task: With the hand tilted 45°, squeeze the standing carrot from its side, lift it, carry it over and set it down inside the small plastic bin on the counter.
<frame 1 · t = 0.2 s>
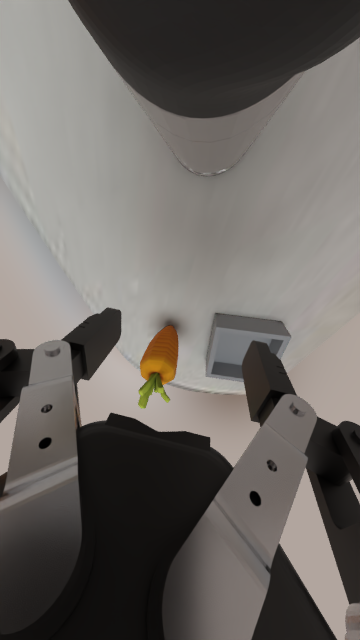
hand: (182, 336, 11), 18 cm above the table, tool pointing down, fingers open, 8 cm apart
bin: (240, 342, 33), on the table
carrot: (171, 326, 33), on the table
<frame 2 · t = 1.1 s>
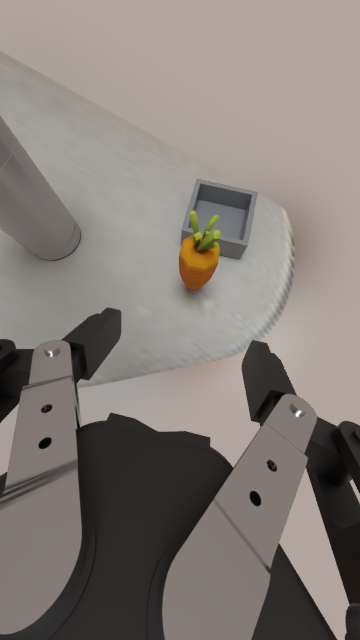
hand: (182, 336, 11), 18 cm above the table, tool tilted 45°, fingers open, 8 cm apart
bin: (215, 227, 35), on the table
carrot: (192, 287, 32), on the table
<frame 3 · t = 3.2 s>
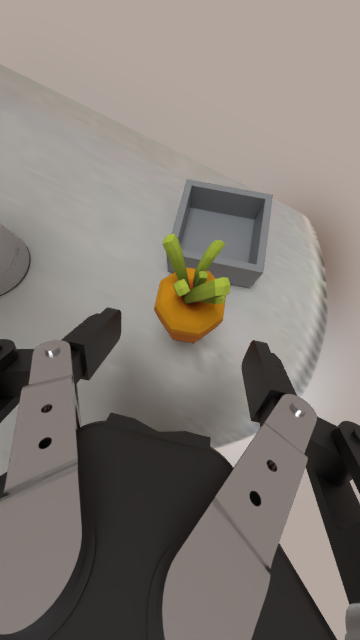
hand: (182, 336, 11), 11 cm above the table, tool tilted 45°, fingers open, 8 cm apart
bin: (215, 244, 25), on the table
carrot: (185, 331, 23), on the table
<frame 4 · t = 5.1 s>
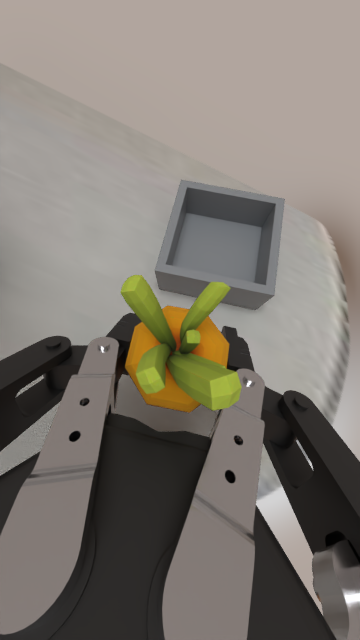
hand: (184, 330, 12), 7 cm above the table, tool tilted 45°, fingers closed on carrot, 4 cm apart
bin: (215, 256, 22), on the table
carrot: (178, 362, 19), on the table, touching gripper
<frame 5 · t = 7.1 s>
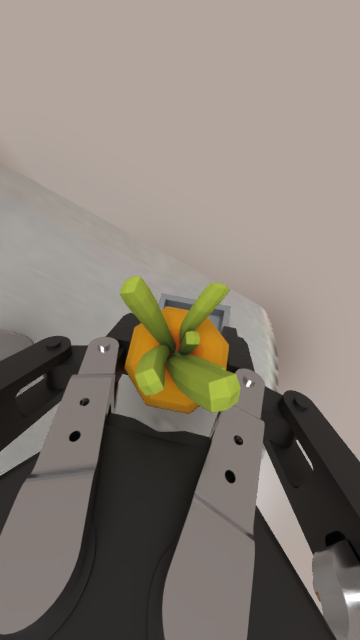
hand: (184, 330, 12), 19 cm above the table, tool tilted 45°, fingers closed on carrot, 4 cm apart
bin: (188, 338, 31), on the table
carrot: (178, 363, 19), point 11 cm above the table, touching gripper
when the fingers open (9 cm above the table, at t = 9.6 s): carrot drops 2 cm, resting on bin.
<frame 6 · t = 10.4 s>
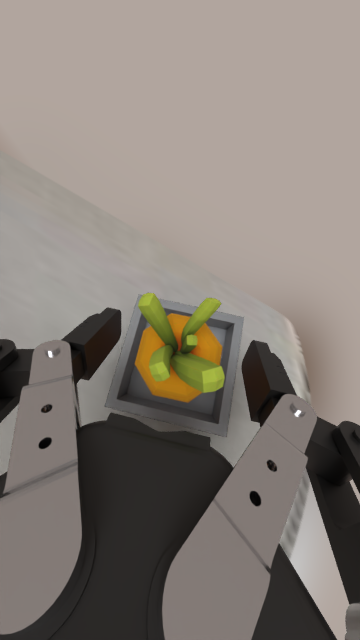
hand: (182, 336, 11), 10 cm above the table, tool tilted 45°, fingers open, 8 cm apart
bin: (178, 360, 21), on the table
carrot: (178, 362, 20), point 1 cm above the table, touching bin
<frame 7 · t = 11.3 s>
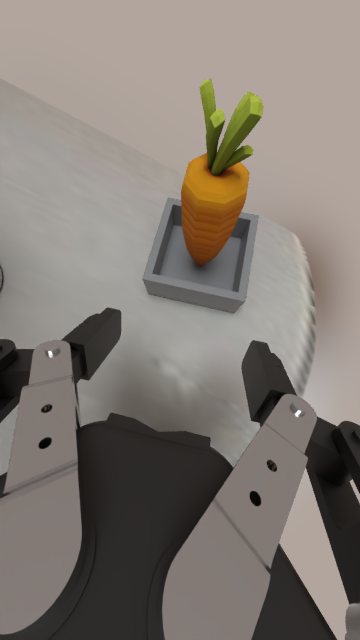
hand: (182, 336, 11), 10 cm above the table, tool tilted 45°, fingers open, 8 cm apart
bin: (199, 265, 24), on the table
carrot: (199, 264, 23), point 1 cm above the table, touching bin
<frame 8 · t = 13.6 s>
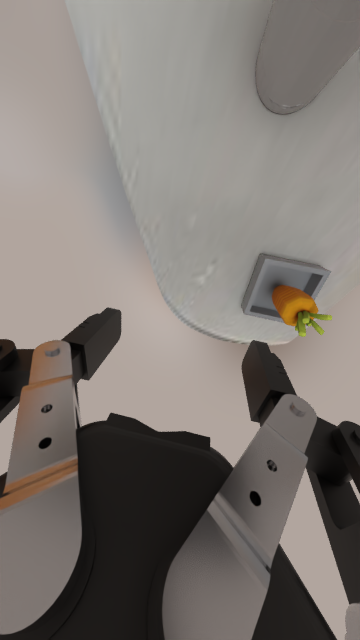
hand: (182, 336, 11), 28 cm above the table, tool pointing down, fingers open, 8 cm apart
bin: (277, 287, 37), on the table
carrot: (276, 288, 36), point 1 cm above the table, touching bin
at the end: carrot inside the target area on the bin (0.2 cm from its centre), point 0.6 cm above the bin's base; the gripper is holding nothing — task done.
